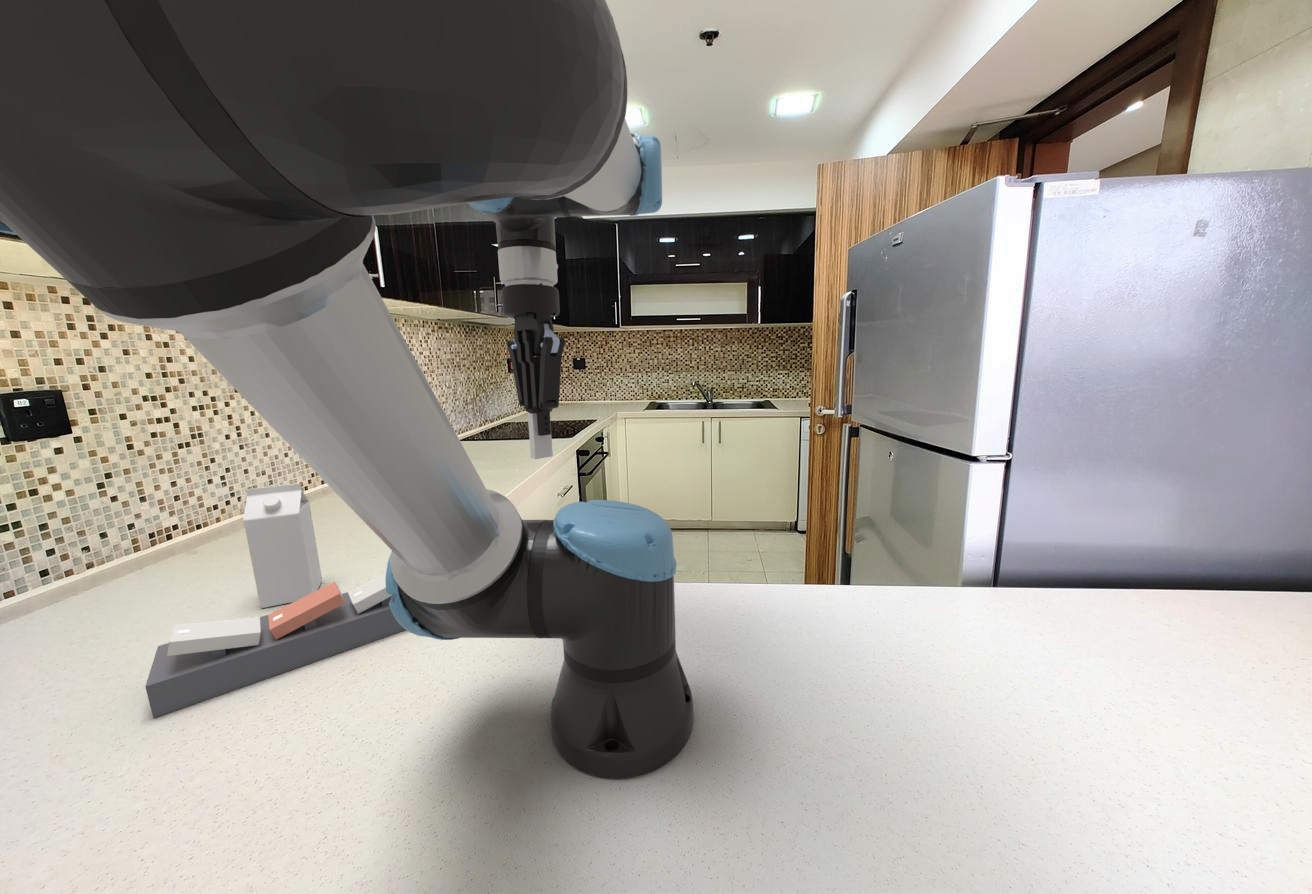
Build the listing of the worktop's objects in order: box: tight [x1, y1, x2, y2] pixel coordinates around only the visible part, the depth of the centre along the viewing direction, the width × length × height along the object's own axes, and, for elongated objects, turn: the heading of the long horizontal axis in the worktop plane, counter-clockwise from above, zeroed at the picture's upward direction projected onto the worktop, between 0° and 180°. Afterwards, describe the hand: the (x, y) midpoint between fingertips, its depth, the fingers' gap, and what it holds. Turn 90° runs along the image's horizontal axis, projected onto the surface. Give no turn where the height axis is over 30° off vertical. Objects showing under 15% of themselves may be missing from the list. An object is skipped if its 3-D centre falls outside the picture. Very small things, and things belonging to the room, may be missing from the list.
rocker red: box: [267, 581, 345, 640], centre depth 64 cm, size 5×8×2 cm, turn 130°
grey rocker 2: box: [347, 572, 392, 614], centre depth 69 cm, size 5×8×2 cm, turn 130°
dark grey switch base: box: [144, 591, 407, 719], centre depth 67 cm, size 10×36×5 cm, turn 130°
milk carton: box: [242, 483, 323, 609], centre depth 79 cm, size 7×7×19 cm
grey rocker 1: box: [167, 616, 261, 656], centre depth 58 cm, size 5×8×2 cm, turn 130°
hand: (541, 456), depth 69 cm, fingers closed
